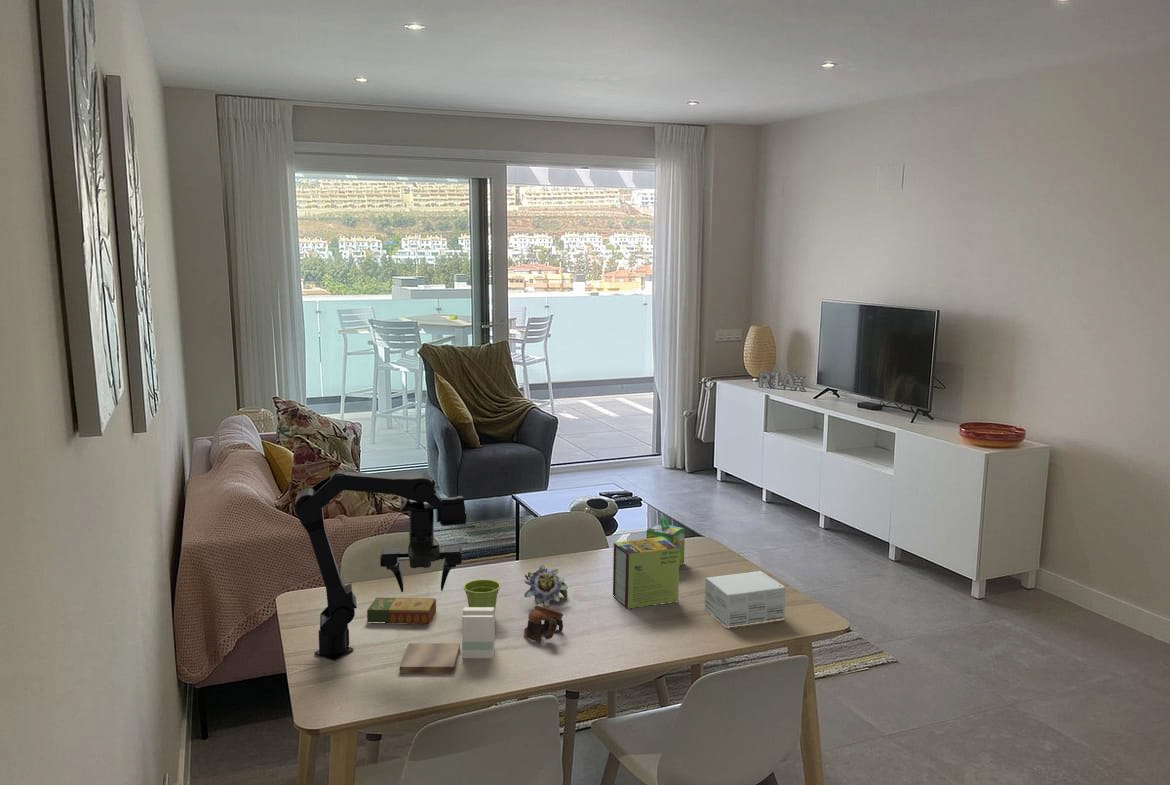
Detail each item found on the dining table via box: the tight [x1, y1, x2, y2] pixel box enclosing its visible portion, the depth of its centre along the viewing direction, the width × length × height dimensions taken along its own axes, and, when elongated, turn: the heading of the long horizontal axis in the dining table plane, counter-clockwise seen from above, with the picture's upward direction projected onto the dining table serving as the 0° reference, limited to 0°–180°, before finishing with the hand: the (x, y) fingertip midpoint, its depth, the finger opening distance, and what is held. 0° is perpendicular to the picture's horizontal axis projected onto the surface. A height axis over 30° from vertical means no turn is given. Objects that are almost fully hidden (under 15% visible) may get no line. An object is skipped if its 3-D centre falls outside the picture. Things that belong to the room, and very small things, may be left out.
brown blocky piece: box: [523, 605, 564, 643], centre depth 212 cm, size 12×10×8 cm
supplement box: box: [704, 570, 786, 627], centre depth 226 cm, size 17×13×9 cm
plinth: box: [399, 642, 461, 674], centre depth 198 cm, size 12×12×2 cm
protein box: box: [612, 537, 680, 610], centre depth 236 cm, size 10×15×16 cm
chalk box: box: [646, 515, 686, 567], centre depth 263 cm, size 9×9×15 cm
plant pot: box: [463, 579, 501, 616], centre depth 222 cm, size 9×9×9 cm
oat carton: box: [461, 606, 496, 659], centre depth 202 cm, size 7×6×11 cm
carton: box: [366, 597, 437, 625], centre depth 222 cm, size 8×16×4 cm, turn 88°
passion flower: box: [524, 563, 568, 608], centre depth 234 cm, size 11×11×12 cm
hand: (422, 590), depth 205 cm, fingers open, 9 cm apart
